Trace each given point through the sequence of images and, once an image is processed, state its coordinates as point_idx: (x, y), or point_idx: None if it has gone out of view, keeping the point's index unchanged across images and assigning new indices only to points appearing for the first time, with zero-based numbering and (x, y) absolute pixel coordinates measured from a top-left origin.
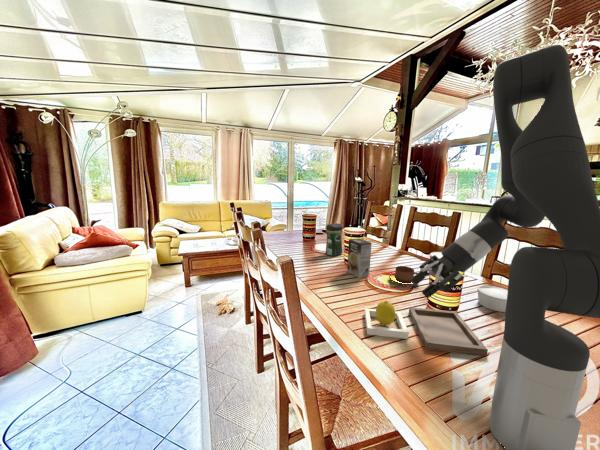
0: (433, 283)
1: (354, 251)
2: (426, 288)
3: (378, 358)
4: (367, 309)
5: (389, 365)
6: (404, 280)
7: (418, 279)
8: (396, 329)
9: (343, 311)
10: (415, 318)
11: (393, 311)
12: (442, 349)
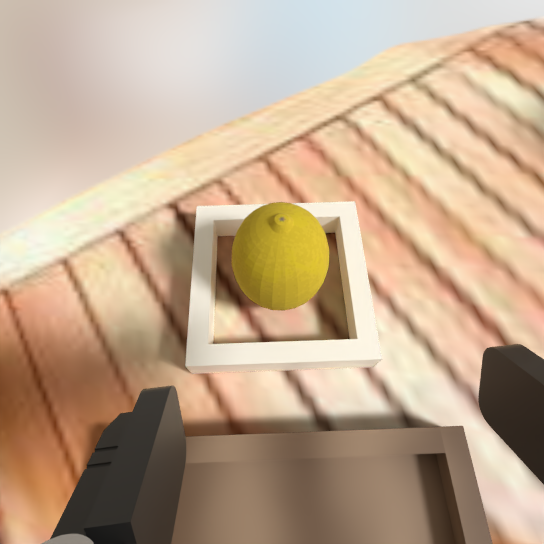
0: (75, 537)
1: None
2: (142, 428)
3: (69, 249)
4: (348, 210)
5: (34, 279)
6: None
7: (529, 429)
8: (202, 313)
9: (342, 150)
10: (333, 435)
11: (251, 276)
12: None
